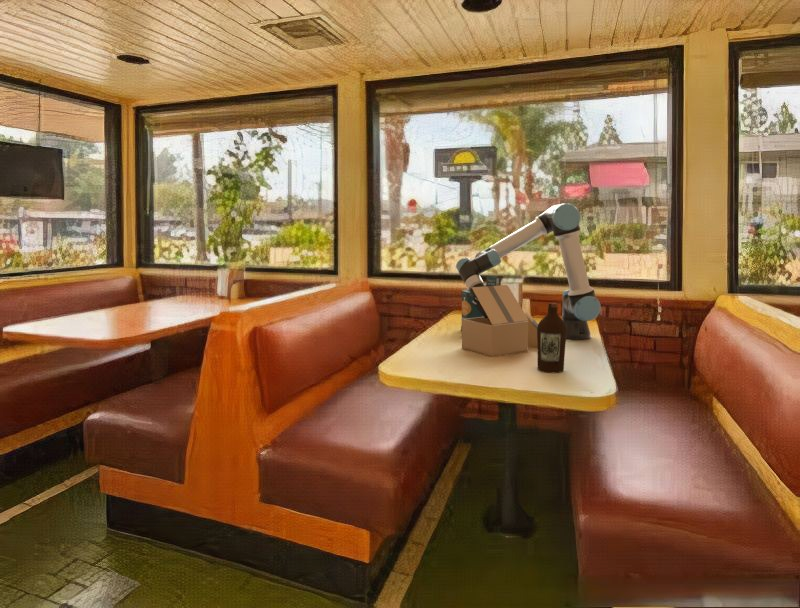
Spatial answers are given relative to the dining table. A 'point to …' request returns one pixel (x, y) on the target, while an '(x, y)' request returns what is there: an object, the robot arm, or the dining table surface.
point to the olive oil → (551, 341)
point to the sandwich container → (532, 331)
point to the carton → (494, 337)
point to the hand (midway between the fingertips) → (500, 329)
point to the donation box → (467, 299)
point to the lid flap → (500, 304)
